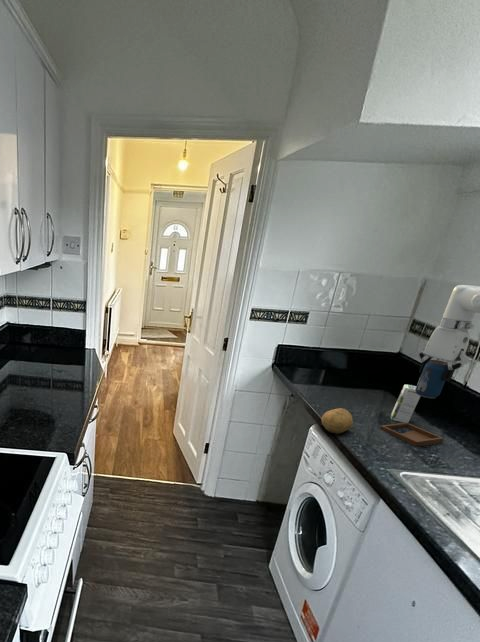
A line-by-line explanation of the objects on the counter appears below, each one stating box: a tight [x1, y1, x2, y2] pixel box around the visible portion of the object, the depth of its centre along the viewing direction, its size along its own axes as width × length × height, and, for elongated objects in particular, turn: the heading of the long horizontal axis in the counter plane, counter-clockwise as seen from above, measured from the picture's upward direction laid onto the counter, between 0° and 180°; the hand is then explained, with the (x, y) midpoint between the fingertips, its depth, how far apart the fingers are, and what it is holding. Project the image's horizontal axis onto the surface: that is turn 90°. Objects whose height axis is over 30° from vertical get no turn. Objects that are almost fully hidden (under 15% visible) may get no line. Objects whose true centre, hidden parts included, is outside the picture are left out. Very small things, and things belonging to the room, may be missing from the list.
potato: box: [321, 407, 354, 435], centre depth 151 cm, size 10×14×8 cm
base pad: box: [379, 422, 444, 447], centre depth 151 cm, size 14×14×2 cm
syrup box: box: [390, 384, 421, 423], centre depth 162 cm, size 6×6×14 cm
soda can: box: [415, 359, 448, 399], centre depth 142 cm, size 7×7×12 cm
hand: (433, 376), depth 142 cm, fingers closed on soda can, 7 cm apart
